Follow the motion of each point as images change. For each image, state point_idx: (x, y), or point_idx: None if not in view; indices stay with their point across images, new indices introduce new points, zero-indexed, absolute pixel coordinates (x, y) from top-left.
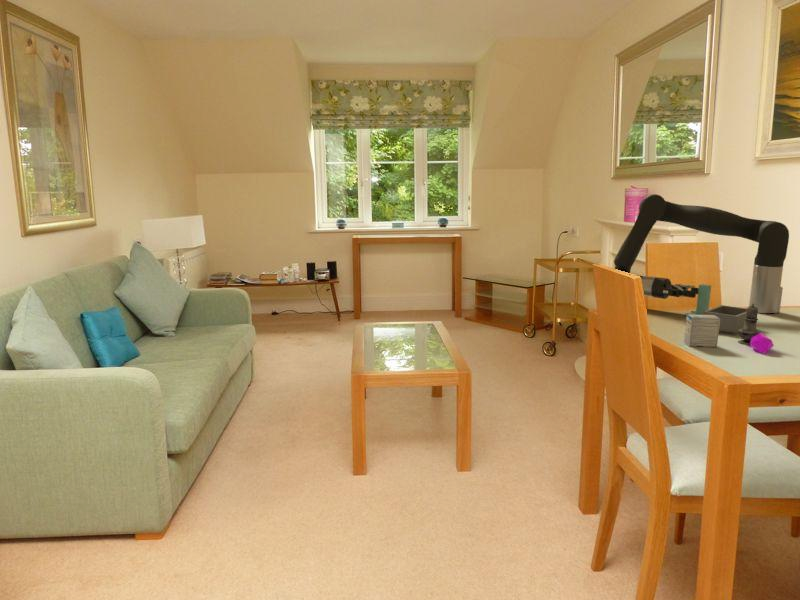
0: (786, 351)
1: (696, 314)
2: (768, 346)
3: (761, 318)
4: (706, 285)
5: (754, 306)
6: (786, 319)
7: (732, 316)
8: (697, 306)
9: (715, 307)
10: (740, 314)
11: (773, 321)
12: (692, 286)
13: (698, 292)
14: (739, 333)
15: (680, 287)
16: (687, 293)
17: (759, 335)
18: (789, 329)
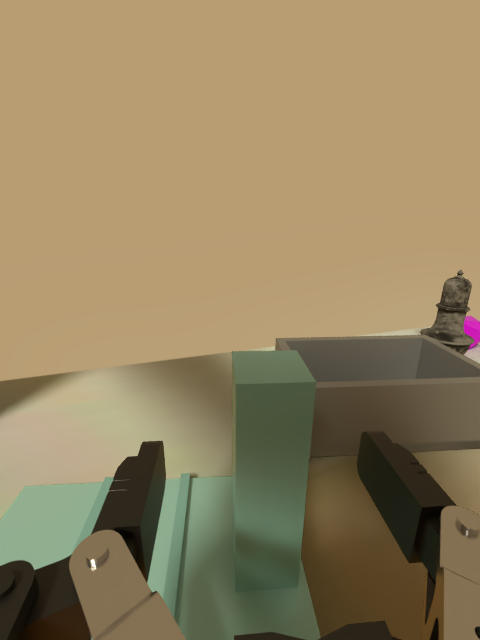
0: (406, 333)
1: (297, 573)
2: None
3: (82, 412)
4: (280, 357)
5: (456, 276)
6: (58, 381)
7: (433, 341)
8: (300, 528)
9: (385, 384)
10: (390, 337)
11: (119, 388)
12: (94, 557)
13: (308, 439)
14: (468, 348)
15: (451, 574)
16: (430, 488)
17: (465, 320)
18: (209, 357)
